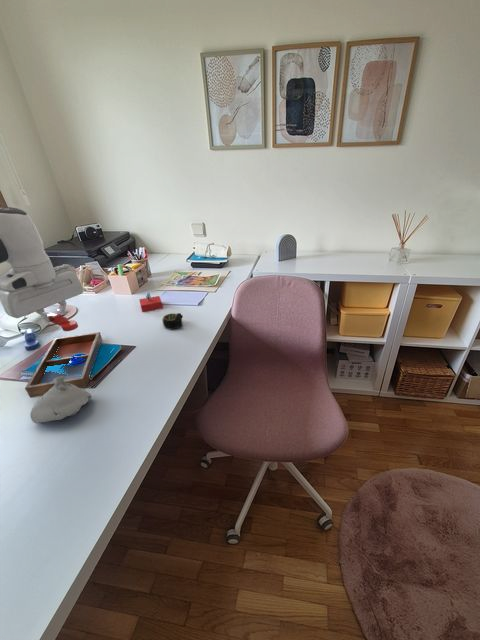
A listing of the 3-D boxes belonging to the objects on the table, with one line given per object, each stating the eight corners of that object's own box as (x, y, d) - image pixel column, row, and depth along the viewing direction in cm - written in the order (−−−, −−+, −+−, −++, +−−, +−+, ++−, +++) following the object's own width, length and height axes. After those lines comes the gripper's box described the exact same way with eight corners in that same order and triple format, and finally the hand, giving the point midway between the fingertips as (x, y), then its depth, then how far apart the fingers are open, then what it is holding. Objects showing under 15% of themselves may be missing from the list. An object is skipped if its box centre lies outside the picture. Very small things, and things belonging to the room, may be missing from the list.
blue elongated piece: (24, 336, 104) (20, 329, 103) (38, 333, 106) (34, 326, 105) (25, 351, 96) (21, 344, 95) (40, 347, 98) (36, 340, 97)
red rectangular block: (142, 312, 119) (138, 297, 115) (140, 305, 124) (136, 291, 121) (163, 308, 121) (159, 293, 118) (160, 302, 127) (157, 287, 123)
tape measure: (182, 329, 107) (180, 320, 104) (162, 331, 106) (160, 322, 104) (183, 320, 112) (182, 311, 110) (164, 322, 111) (162, 313, 109)
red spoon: (44, 323, 90) (40, 315, 88) (57, 317, 93) (54, 309, 91) (68, 332, 85) (64, 324, 83) (81, 326, 88) (77, 317, 86)
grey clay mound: (70, 402, 80) (66, 365, 77) (103, 414, 76) (100, 375, 73) (21, 423, 69) (14, 381, 66) (57, 438, 65) (51, 395, 62)
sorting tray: (30, 397, 78) (24, 388, 76) (58, 346, 99) (54, 338, 97) (86, 387, 81) (82, 378, 79) (102, 340, 102) (99, 332, 100)
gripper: (65, 260, 90) (82, 303, 98) (-13, 283, 75) (13, 331, 83) (78, 263, 87) (94, 306, 95) (-1, 287, 73) (25, 336, 80)
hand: (56, 318), depth 89 cm, fingers closed on red spoon, 3 cm apart
